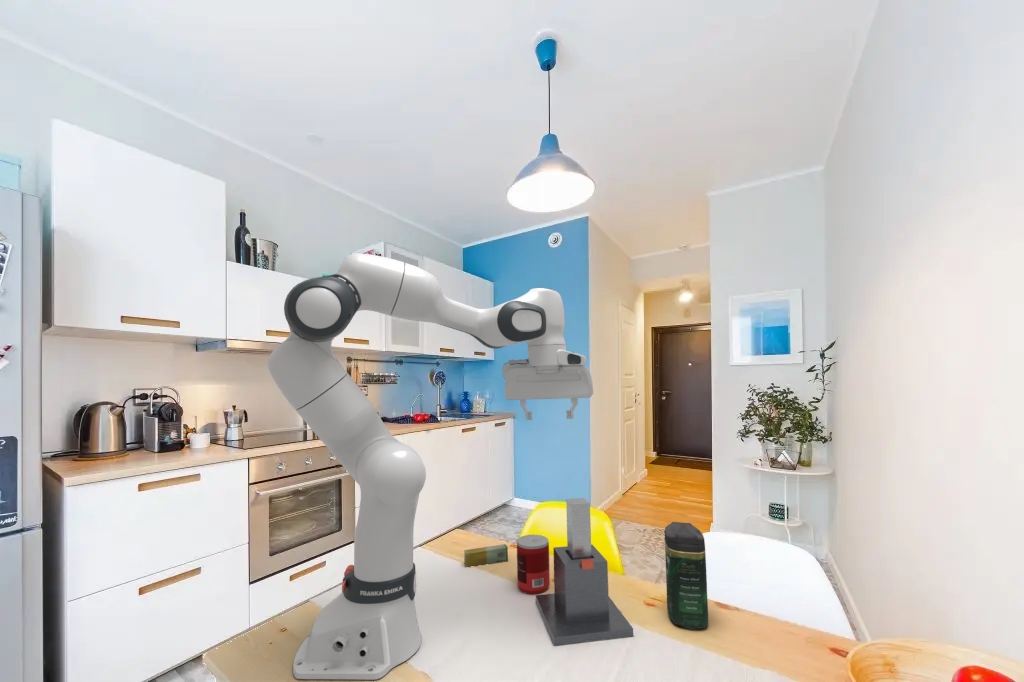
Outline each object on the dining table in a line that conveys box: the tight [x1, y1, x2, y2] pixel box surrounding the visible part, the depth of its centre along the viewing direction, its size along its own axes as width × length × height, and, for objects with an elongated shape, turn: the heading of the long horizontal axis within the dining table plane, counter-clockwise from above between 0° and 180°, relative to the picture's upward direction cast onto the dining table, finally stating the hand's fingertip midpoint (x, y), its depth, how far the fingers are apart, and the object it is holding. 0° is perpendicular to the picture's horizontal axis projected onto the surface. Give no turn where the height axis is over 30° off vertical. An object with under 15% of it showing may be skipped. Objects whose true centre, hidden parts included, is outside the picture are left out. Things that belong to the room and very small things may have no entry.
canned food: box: [516, 534, 551, 595], centre depth 104 cm, size 8×8×11 cm
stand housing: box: [535, 543, 634, 647], centre depth 91 cm, size 16×16×14 cm
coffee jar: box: [663, 521, 709, 630], centre depth 90 cm, size 10×8×19 cm
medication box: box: [463, 543, 509, 568], centre depth 118 cm, size 12×3×4 cm, turn 107°
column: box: [565, 497, 592, 560], centre depth 91 cm, size 4×4×22 cm
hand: (549, 419), depth 98 cm, fingers open, 8 cm apart
